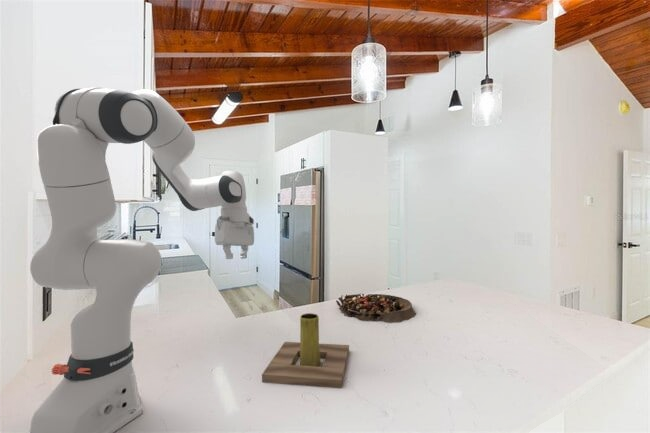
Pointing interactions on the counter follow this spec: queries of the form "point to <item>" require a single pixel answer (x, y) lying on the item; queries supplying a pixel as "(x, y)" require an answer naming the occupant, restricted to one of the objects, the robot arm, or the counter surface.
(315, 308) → the counter surface
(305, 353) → the vase
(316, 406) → the counter surface
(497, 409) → the counter surface
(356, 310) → the food dish
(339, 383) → the socket
